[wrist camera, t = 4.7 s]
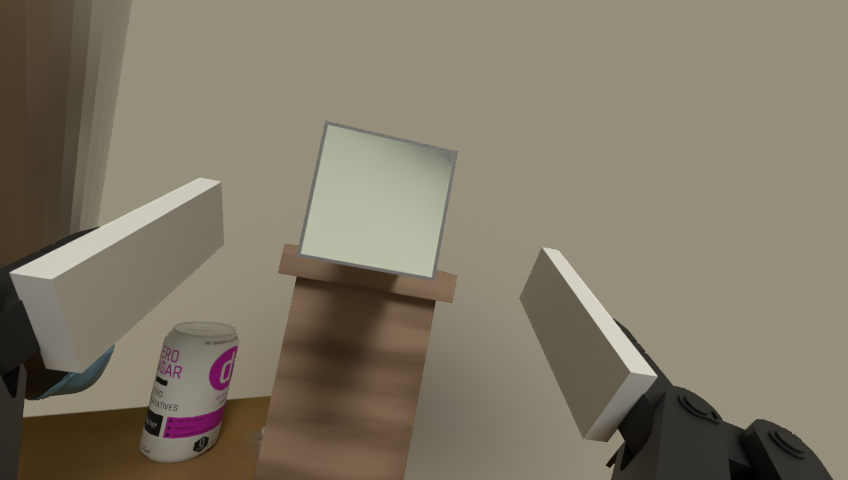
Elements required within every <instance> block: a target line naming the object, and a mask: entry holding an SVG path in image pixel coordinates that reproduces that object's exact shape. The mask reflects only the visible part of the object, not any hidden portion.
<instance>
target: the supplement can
mask: <svg viewBox="0 0 848 480" xmlns="http://www.w3.org/2000/svg"><path fill="white" fill-rule="evenodd" d="M238 344H239V339H238V336H237V333H236V328H235V327H233V326H230V325H228V324H224V323H217V322H207V321H192V322H183V323H179V324H176V325H175V326H174V327H173V330H172V331H171V332H170V333H169V334H168V335H167V336H166V337H165V339H164V343H163V347H162V351H161V356H160V360H159V364H158V368H157V373H156V377H155V381H154V386H153V390H152V394H151V398H150V402H149V406H148V411H147V415H146V419H145V423H144V428H143V432H142V436H141V440H140V451H141V452H142V453H143V454H144V455H146V456H147V457H148V458H149V459H151V460H154V461H157V462H168V463H170V462H179V461H184V460H188V459H191V458H194V457H196V456H198V455H200V454H202V453H204V452H205V451H206V450H207V449H209V448H210V447H211V446H212V445H213V444H214V443H216V441H217V438H218V435H219V430H220V426H221V421H222V417H223V412H224V408H225V403H226V399H227V394H228V390H229V385H230V381H231V376H232V371H233V367H234V362H235V357H236V353H237V348H238Z"/></svg>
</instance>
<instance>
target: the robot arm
mask: <svg viewBox="0 0 848 480" xmlns="http://www.w3.org/2000/svg"><path fill="white" fill-rule="evenodd" d="M131 3H132V0H0V480H16V479H17V469H18V459H19V449H20V439H21V429H22V419H23V409H24V399H27V400H40V399H44V398H47V397H49V396H55V395H65V394H73V393H78V392H81V391H83V390H85V389H87V388H89V387H90V386H92V385H93V384H94V383H95V382H96V381H97V380H98V379H99V378H100V376H101V375H102V373H103V372H104V370H105V368H106V366H107V364H108V362H109V360H110V357H111V355H112V353H113V350H114V346H115V343H116V342H117V341H118V340H119V339H120V338H121V337H122V336H124V335H125V334H126V333H127V332H128V331H129V330H130V329H131V328H132V327H134V326H135V325H136V324H137V323H138V322H139V321H140V320H141V319H142V318H143V317H144V316H146V315H147V314H148V313H149V312H150V311H151V310H152V309H153V308H154V307H156V306H157V305H158V304H159V303H160V302H161V301H162V300H163V299H164V298H165V297H166V296H168V295H169V294H170V293H171V292H172V291H173V290H174V289H175V288H176V287H178V285H180V284H181V283H182V282H183V281H184V280H185V279H186V278H187V277H189V276H190V274H192V273H193V272H194V271H195V270H196V269H197V268H199V267H200V266H201V265H202V264H203V263H204V262H205V261H206V260H207V259H208V258H209V257H211V256H212V255H213V254H214V253H215V252H216V251H217V250H218V249H219V248H221V247H222V246H223V245H224V236H223V235H224V234H223V211H222V190H221V189H222V188H221V182H219V181H214V180H209V179H205V178H198V179H196V180H194V181H192V182H190V183H188V184H186V185H184V186H182V187H180V188H178V189H176V190H174V191H172V192H170V193H168V194H166V195H164V196H162V197H160V198H158V199H156V200H154V201H152V202H150V203H148V204H146V205H144V206H142V207H140V208H138V209H136V210H134V211H132V212H130V213H128V214H126V215H124V216H122V217H120V218H118V219H116V220H114V221H112V222H110V223H108V224H106V225H104V226H102V227H97V224H98V218H99V211H100V205H101V198H102V192H103V185H104V179H105V172H106V166H107V159H108V153H109V146H110V140H111V133H112V127H113V120H114V114H115V107H116V100H117V94H118V87H119V81H120V74H121V68H122V61H123V54H124V48H125V42H126V35H127V29H128V22H129V16H130V9H131ZM520 300H521V303H522V305H523V307H524V309H525V312H526V314H527V316H528V318H529V320H530V322H531V325H532V327H533V329H534V331H535V333H536V336H537V338H538V340H539V342H540V344H541V347H542V349H543V351H544V354H545V356H546V358H547V360H548V362H549V365H550V367H551V369H552V371H553V373H554V376H555V378H556V380H557V382H558V384H559V387H560V389H561V391H562V393H563V396H564V398H565V400H566V402H567V404H568V406H569V409H570V411H571V413H572V416H573V417H574V420H575V422H576V424H577V427H578V429H579V431H580V433H581V435H582V438H583V439H587V440H595V441H603V442H608V441H609V439H610V438H611V437H612V435H613V434H614V433H615V432H616V430H617V429H618V430H619V431H620V433H621V435H622V437H623V438H624V440H625V441H624V443H623V444H622V445H621V446H620V448H619V449H618V450H617V451H616V453H615V454H614V455H613V456H612V457H611V459H610V460H609V461H608V463H607V464H606V466H608V467H609V468H610V467H611V466H612V465H613V464H615V466H614V470H613V474H612V478H611V480H833V479H832V477H831V476H830V474H829V473H828V471H827V470H826V468H825V467H824V466H823V464H822V462H821V461H820V460H819V458H818V457H817V456H816V455H815V453H814V452H813V451H812V450H811V449H810V448H809V447H808V446H807V445H806V444H804V443H803V442H802V440H801V439H799V438H798V437H797V436H796V435H794V434H792V432H790V431H788V430H787V429H785V428H782V427H780V426H778V425H776V424H775V423H772V422H769V421H766V420H763V419H757V420H755V421H754V422H753V423H752V424H751V425H750V426H749V427H748V428H747V429H746V430H744V429H742V428H739V427H737V426H734V425H732V424H729V423H727V422H724V421H723V420H722V418H721V417H720V415H719V414H718V413H717V411H716V410H715V409H714V408H713V407H712V406H711V405H709V404H708V403H707V402H706V401H705V400H704V399H702V398H701V397H699V396H698V395H696V394H695V393H693V392H691V391H689V390H687V389H685V388H681V387H677V386H673V385H672V384H671V383H670V381H669V380H668V379H667V378H666V376H665V375H664V374H663V373H662V371H661V370H660V369H659V368H658V366H657V365H656V364H655V363H654V361H653V360H652V359H651V358H650V357H649V355H648V354H647V353H645V350H644V349H643V348H642V347H641V345H640V344H638V343H637V341H636V339H635V338H634V337H633V336H632V334H631V333H630V332H629V331H628V330H627V329H626V328H625V327H624V326H623V325H621V324H620V323H619V322H618V321H616V320H615V319H613V318H611V316H610V315H609V314H608V313H607V311H606V310H605V309H604V308H603V306H602V305H601V304H600V302H599V301H598V300H597V299H596V297H595V296H594V295H593V293H592V292H591V291H590V290H589V288H588V287H587V286H586V285H585V284H584V282H583V281H582V280H581V278H580V277H579V276H578V274H577V273H576V272H575V271H574V270H573V268H572V267H571V266H570V264H569V263H568V262H567V261H566V259H565V258H564V257H563V255H562V254H561V253H560V252H559V250H554V249H549V248H544V247H542V248H541V251H540V253H539V255H538V257H537V260H536V262H535V264H534V266H533V269H532V271H531V274H530V275H529V278H528V280H527V283H526V285H525V287H524V289H523V291H522V294H521V296H520Z"/></svg>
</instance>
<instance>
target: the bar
mask: <svg viewBox="0 0 848 480" xmlns="http://www.w3.org/2000/svg"><path fill="white" fill-rule="evenodd" d="M457 153H458V152H457V151H453V150H449V149H444V148H440V147H436V146H431V145H427V144H423V143H419V142H414V141H410V140H406V139H401V138H397V137H393V136H389V135H384V134H380V133H375V132H371V131H366V130H363V129H358V128H354V127H350V126H345V125H341V124H337V123H332V122H328V121H325V125H324V130H323V135H322V139H321V144H320V148H319V153H318V158H317V163H316V167H315V172H314V177H313V181H312V186H311V191H310V196H309V200H308V205H307V210H306V215H305V219H304V224H303V229H302V233H301V238H300V243H299V247H298V252H297V257H302V258H308V259H314V260H319V261H325V262H330V263H336V264H341V265H347V266H353V267H358V268H364V269H369V270H375V271H380V272H386V273H392V274H397V275H403V276H408V277H414V278H419V279H425V280H430V281H434V279H435V274H436V268H437V263H438V257H439V252H440V246H441V241H442V235H443V230H444V224H445V219H446V213H447V208H448V202H449V197H450V191H451V186H452V180H453V175H454V169H455V164H456V159H457Z"/></svg>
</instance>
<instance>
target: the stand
mask: <svg viewBox="0 0 848 480" xmlns="http://www.w3.org/2000/svg"><path fill="white" fill-rule="evenodd" d="M298 247H299V245H292V244H284V248H283V253H282V257H281V263H280V266H279V271H278V273H280V274H286V275H292V276H297V278H296V283H295V287H294V292H293V297H292V301H291V306H290V311H289V316H288V320H287V325H286V330H285V335H284V339H283V344H282V349H281V354H280V359H279V363H278V368H277V373H276V377H275V382H274V387H273V392H272V396H271V401H270V406H269V410H268V415H267V420H266V424H265V429H264V434H263V439H262V443H261V448H260V453H259V458H258V462H257V467H256V472H255V477H254V480H404V474H405V469H406V463H407V457H408V452H409V446H410V441H411V435H412V430H413V423H414V419H415V413H416V407H417V402H418V397H419V390H420V386H421V380H422V374H423V369H424V363H425V358H426V352H427V347H428V341H429V336H430V330H431V325H432V319H433V314H434V308H435V303H436V300H437V301H443V302H449V303H452V302H453V296H454V291H455V285H456V279H457V275H454V274H450V273H446V272H442V271H438V270H436V274H435V279H434V281H430V280H425V279H419V278H414V277H408V276H403V275H397V274H392V273H386V272H380V271H375V270H369V269H364V268H358V267H353V266H347V265H341V264H336V263H330V262H325V261H319V260H314V259H308V258H302V257H297V252H298Z"/></svg>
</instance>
